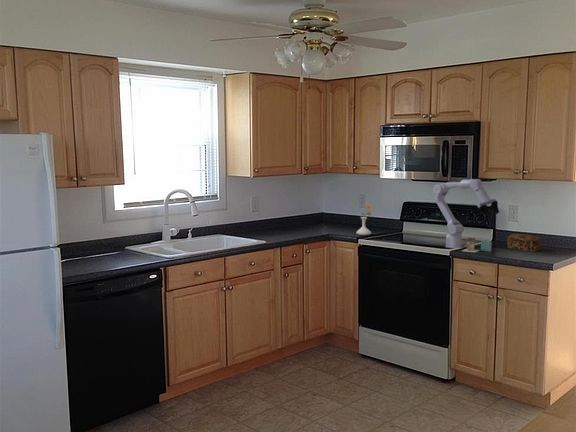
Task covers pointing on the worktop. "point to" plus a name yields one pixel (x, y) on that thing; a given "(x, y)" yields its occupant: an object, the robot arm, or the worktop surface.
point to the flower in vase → (363, 229)
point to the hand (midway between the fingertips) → (493, 214)
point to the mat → (471, 251)
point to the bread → (524, 242)
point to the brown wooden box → (470, 244)
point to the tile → (485, 245)
